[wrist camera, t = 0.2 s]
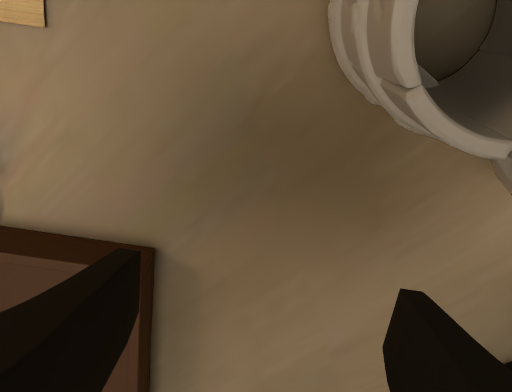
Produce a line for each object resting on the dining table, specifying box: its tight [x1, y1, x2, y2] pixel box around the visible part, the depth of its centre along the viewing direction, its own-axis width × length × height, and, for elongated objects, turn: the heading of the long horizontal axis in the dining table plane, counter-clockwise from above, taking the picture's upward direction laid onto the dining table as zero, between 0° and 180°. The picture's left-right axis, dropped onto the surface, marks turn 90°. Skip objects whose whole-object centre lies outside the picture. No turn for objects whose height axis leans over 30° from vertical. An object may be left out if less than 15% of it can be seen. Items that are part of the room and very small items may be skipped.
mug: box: [328, 0, 512, 195], centre depth 14 cm, size 8×12×12 cm, turn 34°
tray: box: [0, 226, 155, 392], centre depth 26 cm, size 17×12×2 cm
